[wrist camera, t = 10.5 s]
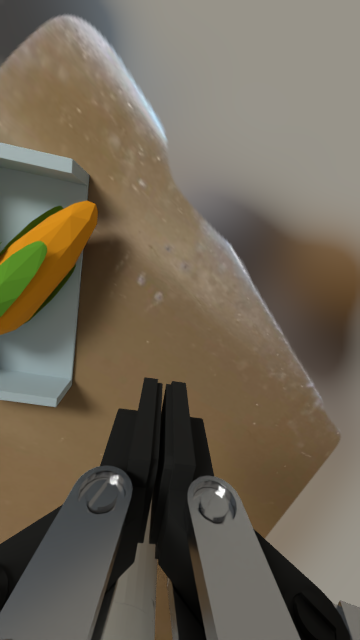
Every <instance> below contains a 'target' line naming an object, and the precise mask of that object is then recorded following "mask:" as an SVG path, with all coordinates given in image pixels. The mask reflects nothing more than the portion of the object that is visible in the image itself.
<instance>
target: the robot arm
mask: <svg viewBox="0 0 360 640" xmlns="http://www.w3.org/2000/svg"><path fill="white" fill-rule="evenodd" d="M161 404H162V383H158V379H153V378H144V383H143V388H142V393H141V398H140V403H139V408H138V411H136V410H127V409H118V412H117V415H116V418H115V421H114V424H113V428H112V431H111V434H110V437H109V440H108V443H107V446H106V449H105V452H104V456H103V459H102V462H101V465H100V466H99V467H95V468H93V469H91V470H88V471H87V472H86V473H84V474H83V475H82V476H81V477H80V478H79V479H78V481H77V482H76V483H75V485H74V486H73V488H72V490H71V492H70V493H69V495H68V497H67V498H66V500H65V502H64V504H63V505H61V506H60V507H58V508H57V509H55V510H54V511H52V512H50V513H49V514H47V515H46V516H44V517H43V518H41V519H39V520H38V521H36V522H35V523H33V524H31V525H30V526H28V527H27V528H25V529H24V530H22V531H20V532H19V533H17V534H16V535H14V536H12V537H11V538H9V539H8V540H6V541H5V542H3V543H1V544H0V640H154V635H155V607H156V581H157V559H158V564H159V565H160V567H161V568H162V570H163V571H164V572H165V574H166V575H167V576H168V586H167V588H168V598H169V607H170V617H171V626H172V636H173V640H360V608H359V607H357V606H354V605H351V604H348V603H346V602H343V601H340V602H339V604H338V605H335V604H333V603H332V602H331V601H330V600H329V599H328V598H327V596H326V595H325V594H324V593H323V592H322V591H321V590H320V589H319V588H318V587H317V586H316V585H315V584H313V583H312V582H311V581H310V580H309V579H308V578H307V577H306V576H305V575H304V574H302V573H301V572H300V571H299V570H298V569H297V568H296V567H295V566H294V565H293V564H291V563H290V562H289V561H288V560H287V559H286V558H285V557H284V556H282V554H280V553H279V552H278V551H277V550H276V549H275V548H274V547H273V546H272V545H270V543H268V542H267V541H266V540H265V539H264V538H263V537H262V536H261V535H260V534H259V533H258V532H256V531H255V530H254V529H253V527H252V525H251V523H250V520H249V518H248V516H247V513H246V511H245V509H244V506H243V504H242V502H241V499H240V497H239V496H238V494H237V492H236V491H235V490H234V489H233V488H232V486H231V485H230V484H228V483H227V482H225V481H224V480H222V479H220V478H217V477H215V476H214V473H213V468H212V463H211V458H210V453H209V448H208V443H207V438H206V433H205V428H204V423H203V420H202V419H201V418H193V417H190V414H189V406H188V398H187V390H186V383H182V382H175V381H172V383H171V385H170V384H166V389H165V395H164V400H163V406H162V411H161Z"/></svg>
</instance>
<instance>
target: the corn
mask: <svg viewBox="0 0 360 640" xmlns="http://www.w3.org/2000/svg"><path fill="white" fill-rule="evenodd" d="M97 216H98V210H97V207H96V204H94V203H92V202H89V201H82V202H78V203H74V204H72V205H70V206H68V207H66V208H63V207H62V206H57V207H54V208H52V209H50V210H48V211H46V212H45V213H43V214H42V215H40V216H39V217H37V218H36V219H34V220H33V221H31V222H30V223H29V224H28V225H27V226H26V227H25V228H24V229H23V230H22V231H21V232H20V233H19V234H17V235H16V236H15V237H14V238H13V239H12V240H11V241H10V242H9V243H8V244H7V245H6V246H5V247H4V249H3V250H2V251H1V252H0V335H2V334H5V333H8V332H11V331H14V330H16V329H17V328H19V327H20V326H22V325H23V324H25V323H26V322H28V321H30V320H31V319H32V318H33V317H34V316H35V315H36V314H37V313H38V312H39V311H40V310H41V309H43V308H44V307H45V306H46V305H47V304H48V303H49V302H50V301H51V300H52V299H53V298H54V297H55V295H56V294H57V293H58V292H59V291H60V289H61V288H62V287H63V286H64V285H65V283H66V282H67V281H68V279H69V278H70V276H71V275H72V273H73V272H74V269H75V267H76V264H75V263H76V262H77V260H78V258H79V256H80V254H81V252H82V250H83V249H84V247H85V245H86V243H87V241H88V239H89V238H90V236H91V234H92V232H93V230H94V228H95V227H96V225H97ZM1 243H2V242H1ZM1 243H0V244H1Z"/></svg>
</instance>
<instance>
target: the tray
mask: <svg viewBox="0 0 360 640" xmlns="http://www.w3.org/2000/svg"><path fill="white" fill-rule="evenodd" d="M88 187H89V174H88V173H87V172H86V171H85V170H84V169H83V168H82V167H80V166H79V165H78V164H77V163H76V162H75V161H74V160H73V159H70V158H66V157H61V156H57V155H53V154H48V153H44V152H39V151H35V150H31V149H26V148H22V147H17V146H13V145H9V144H4V143H0V243H1V242H2V243H1V244H0V252H1V251H2V250H3V249H4V247H5V246H6V245H7V244H8V243H9V242H10V241H11V240H12V239H13V238H14V237H15V236H16V235H17V234H19V233H20V232H21V231H22V230H23V229H24V228H25V227H26V226H27V225H28V224H29V223H30V222H31V221H33V220H34V219H36V218H37V217H39V216H40V215H42V214H43V213H45V212H46V211H48V210H50V209H52V208H54V207H57V206H62V207H63V208H66V207H68V206H70V205H72V204H74V203H78V202H82V201H87V199H88ZM82 259H83V250H82V252H81V254H80V256H79V258H78V260H77V262H76V263H75V264H76V267H75V269H74V272H73V273H72V275H71V276H70V278H69V279H68V281H67V282H66V283H65V285H64V286H63V287H62V288H61V289H60V291H59V292H58V293H57V294H56V295H55V297H54V298H53V299H52V300H51V301H50V302H49V303H48V304H47V305H46V306H45V307H44V308H43V309H41V310H40V311H39V312H38V313H37V314H36V315H35V316H34V317H33V318H32V319H31V320H30V321H28V322H26V323H25V324H23V325H22V326H20V327H19V328H17V329H16V330H14V331H11V332H8V333H5V334H2V335H0V400H7V401H14V402H22V403H29V404H37V405H44V406H52V407H57V405H58V404H59V402H60V401H61V400H62V398H63V397H64V396H65V394H66V393H67V391H68V390H69V389H70V387H71V386H72V378H73V366H74V354H75V342H76V330H77V318H78V306H79V295H80V283H81V271H82Z"/></svg>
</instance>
